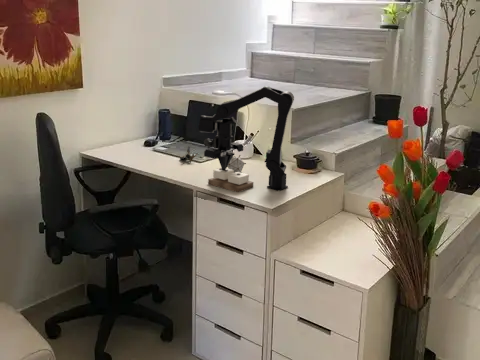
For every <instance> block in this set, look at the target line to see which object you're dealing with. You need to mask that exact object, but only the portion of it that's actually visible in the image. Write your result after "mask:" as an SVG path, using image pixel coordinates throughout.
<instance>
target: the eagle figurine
mask: <svg viewBox="0 0 480 360" xmlns="http://www.w3.org/2000/svg"><path fill="white" fill-rule="evenodd" d="M198 154H199V153H198V152H197V153H196V154H194V153H192V154H191V147H190V146H188V147H187V150H186V153H185V155H182V156H181V157H180V158H179V160H183V159H184V158H185V159H187V160H189V163H190V164H191V163H192V162H193V161H192V160H193V159H194V158H195V157H197V156H198Z"/></svg>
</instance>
